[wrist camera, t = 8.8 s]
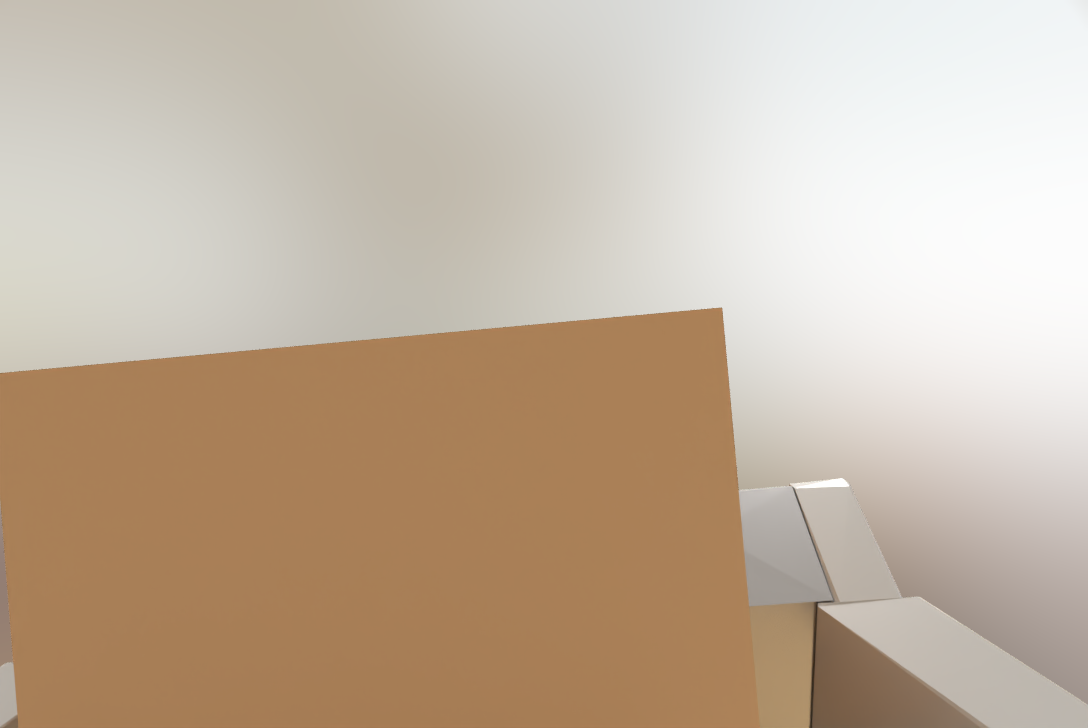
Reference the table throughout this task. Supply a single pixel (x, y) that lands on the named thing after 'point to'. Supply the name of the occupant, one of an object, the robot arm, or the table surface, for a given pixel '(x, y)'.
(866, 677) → the robot arm
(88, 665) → the orange bar
